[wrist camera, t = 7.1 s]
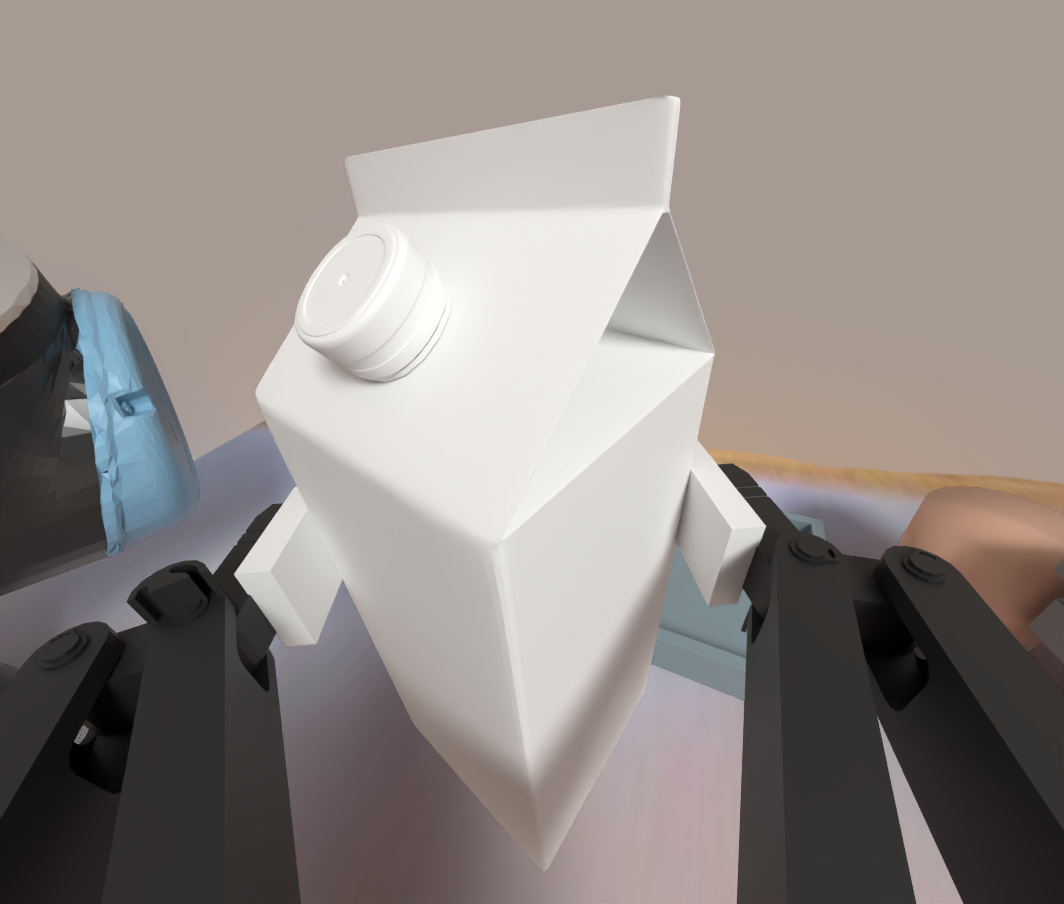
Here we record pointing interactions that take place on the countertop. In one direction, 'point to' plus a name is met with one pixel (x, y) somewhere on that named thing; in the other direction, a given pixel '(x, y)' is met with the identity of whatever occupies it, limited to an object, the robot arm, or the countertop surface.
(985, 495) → the peach round cylinder
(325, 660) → the countertop surface
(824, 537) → the tray
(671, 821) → the countertop surface
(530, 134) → the milk carton
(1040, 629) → the sharpening stone
